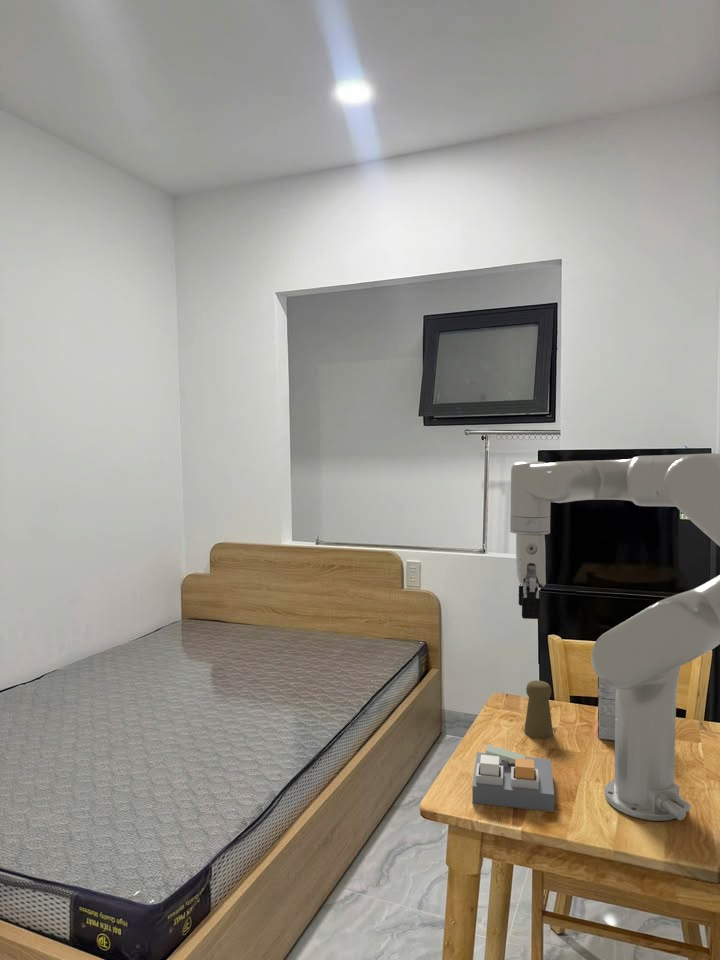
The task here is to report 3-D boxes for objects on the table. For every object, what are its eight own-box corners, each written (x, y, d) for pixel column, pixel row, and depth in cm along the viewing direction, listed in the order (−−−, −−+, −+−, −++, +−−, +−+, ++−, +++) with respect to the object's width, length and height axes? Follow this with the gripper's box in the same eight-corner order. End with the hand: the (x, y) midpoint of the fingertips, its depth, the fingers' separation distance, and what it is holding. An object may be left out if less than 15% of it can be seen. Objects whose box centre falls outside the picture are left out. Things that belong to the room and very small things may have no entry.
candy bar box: (601, 719, 151) (601, 647, 150) (625, 722, 149) (626, 649, 148) (596, 739, 140) (596, 662, 140) (621, 743, 138) (622, 665, 138)
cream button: (499, 767, 120) (499, 756, 120) (498, 775, 117) (498, 764, 117) (481, 765, 120) (481, 754, 120) (480, 774, 117) (480, 762, 117)
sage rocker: (523, 759, 124) (524, 755, 124) (523, 766, 122) (524, 762, 122) (486, 748, 126) (487, 744, 126) (485, 754, 123) (486, 750, 123)
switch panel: (550, 774, 126) (550, 752, 125) (554, 811, 113) (554, 787, 113) (476, 767, 129) (476, 745, 128) (472, 802, 116) (472, 778, 116)
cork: (518, 730, 145) (518, 680, 145) (540, 724, 148) (540, 675, 147) (536, 741, 140) (536, 689, 139) (559, 735, 142) (559, 684, 142)
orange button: (533, 770, 118) (533, 759, 118) (534, 779, 115) (534, 768, 115) (515, 768, 119) (515, 757, 119) (515, 777, 116) (515, 766, 116)
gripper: (555, 531, 121) (553, 624, 122) (545, 519, 138) (543, 601, 139) (512, 530, 123) (511, 622, 124) (508, 519, 140) (506, 600, 141)
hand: (528, 611), depth 132 cm, fingers open, 9 cm apart
